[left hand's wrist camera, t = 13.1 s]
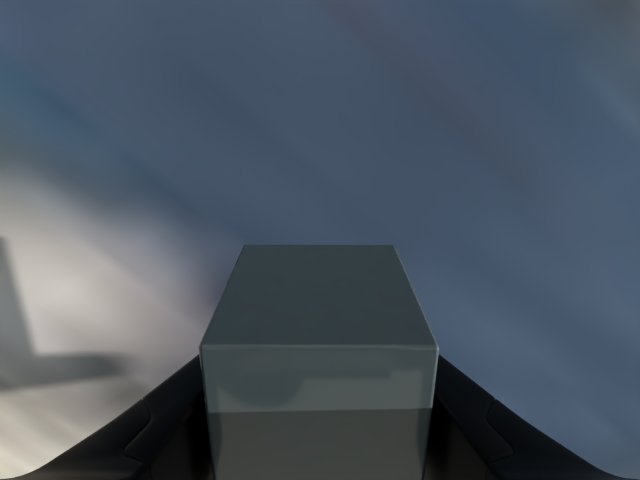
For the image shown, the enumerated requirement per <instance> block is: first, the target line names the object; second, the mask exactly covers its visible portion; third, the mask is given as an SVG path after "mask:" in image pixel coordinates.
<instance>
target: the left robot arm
mask: <svg viewBox="0 0 640 480" xmlns="http://www.w3.org/2000/svg"><path fill="white" fill-rule="evenodd" d="M0 480H214V479H213V471H212V462H211V453H210V444H209V436H208V427H207V418H206V409H205V401H204V392H203V383H202V375H201V366H200V357H199V355H197V356H196V357H195V358H194V359H192V360H191V361H190V362H188V363H187V364H186V365H185V366H183V367H182V368H181V369H179V370H178V371H177V372H175V373H174V374H173V375H172V376H170V377H169V378H168V379H166V380H165V381H164V382H163V383H161V384H160V385H159V386H157V387H156V388H155V389H154V390H152V391H151V392H150V393H148V394H147V395H146V396H145V397H143V400H142V399H141V400H139V401H138V402H137V403H135V404H134V405H133V406H131V407H130V408H129V409H127V410H126V411H125V412H123V413H122V414H121V415H119V416H118V417H117V418H115V419H114V420H112V421H111V422H110V423H108V424H107V425H105V426H104V427H102V428H101V429H99V430H98V431H96V432H95V433H93V434H92V435H90V436H89V437H87V438H86V439H84V440H82V441H81V442H79V443H78V444H76V445H75V446H73V447H72V448H70V449H69V450H67V451H66V452H64V453H62V454H61V455H59V456H58V457H56V458H55V459H53V460H52V461H50V462H49V463H47V464H45V465H44V466H42V467H40V468H39V469H37V470H34V471H32V472H30V473H28V474H25V475H22V476H19V477H15V478H9V479H0ZM424 480H638V479H628V478H622V477H618V476H615V475H612V474H609V473H606V472H604V471H602V470H600V469H598V468H596V467H595V466H593V465H591V464H590V463H588V462H587V461H585V460H584V459H582V458H581V457H579V456H578V455H576V454H574V453H573V452H571V451H570V450H568V449H567V448H565V447H564V446H562V445H561V444H559V443H558V442H556V441H555V440H553V439H552V438H550V437H548V436H547V435H545V434H544V433H542V432H541V431H539V430H538V429H537V428H535V427H534V426H532V425H531V424H529V423H528V422H526V421H525V420H523V419H522V418H521V417H519V416H518V415H517V414H515V413H514V412H513V411H511V410H510V409H509V408H507V407H506V406H505V405H503V404H502V403H501V402H500V401H498V400H497V399H495V398H494V397H493V396H492V395H490V394H489V393H488V392H487V391H485V390H484V389H483V388H481V387H480V386H479V385H478V384H476V383H475V382H474V381H473V380H471V379H470V378H469V377H467V376H466V375H465V374H464V373H462V372H461V371H460V370H458V369H457V368H456V367H455V366H453V365H452V364H451V363H450V362H448V361H447V360H446V359H444V358H443V357H442V356H441V355H439V356H438V364H437V373H436V381H435V390H434V398H433V407H432V415H431V424H430V432H429V441H428V449H427V457H426V466H425V474H424Z"/></svg>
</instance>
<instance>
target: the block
mask: <svg viewBox="0 0 640 480" xmlns="http://www.w3.org/2000/svg"><path fill="white" fill-rule="evenodd" d="M198 348H199V357H200V366H201V375H202V383H203V392H204V401H205V409H206V418H207V427H208V436H209V444H210V453H211V462H212V471H213V479H214V480H424V474H425V466H426V457H427V449H428V441H429V432H430V424H431V415H432V407H433V398H434V390H435V381H436V373H437V364H438V356H439V346H438V343H437V341H436V339H435V336H434V334H433V332H432V329H431V327H430V325H429V323H428V320H427V318H426V316H425V314H424V311H423V309H422V307H421V304H420V302H419V300H418V298H417V295H416V293H415V291H414V288H413V286H412V284H411V282H410V279H409V277H408V275H407V272H406V270H405V268H404V266H403V263H402V261H401V259H400V256H399V254H398V252H397V250H396V247H395V246H393V245H245V246H243V249H242V251H241V253H240V255H239V257H238V260H237V262H236V264H235V266H234V269H233V271H232V273H231V275H230V278H229V280H228V282H227V284H226V287H225V289H224V291H223V293H222V295H221V298H220V300H219V302H218V304H217V307H216V309H215V311H214V313H213V316H212V318H211V320H210V322H209V325H208V327H207V329H206V331H205V333H204V336H203V338H202V340H201V342H200V345H199V347H198Z"/></svg>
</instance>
